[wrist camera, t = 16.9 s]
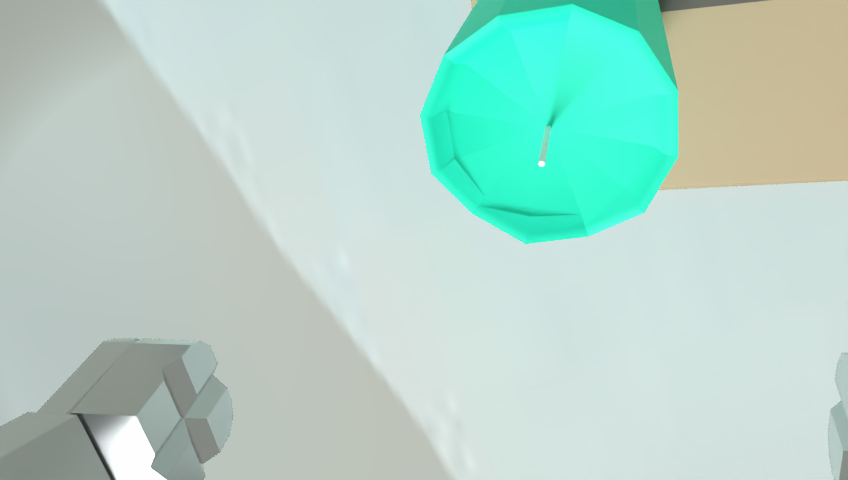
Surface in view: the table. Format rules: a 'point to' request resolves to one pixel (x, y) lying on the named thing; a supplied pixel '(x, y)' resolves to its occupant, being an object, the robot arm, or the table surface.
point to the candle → (554, 115)
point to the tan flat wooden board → (758, 91)
